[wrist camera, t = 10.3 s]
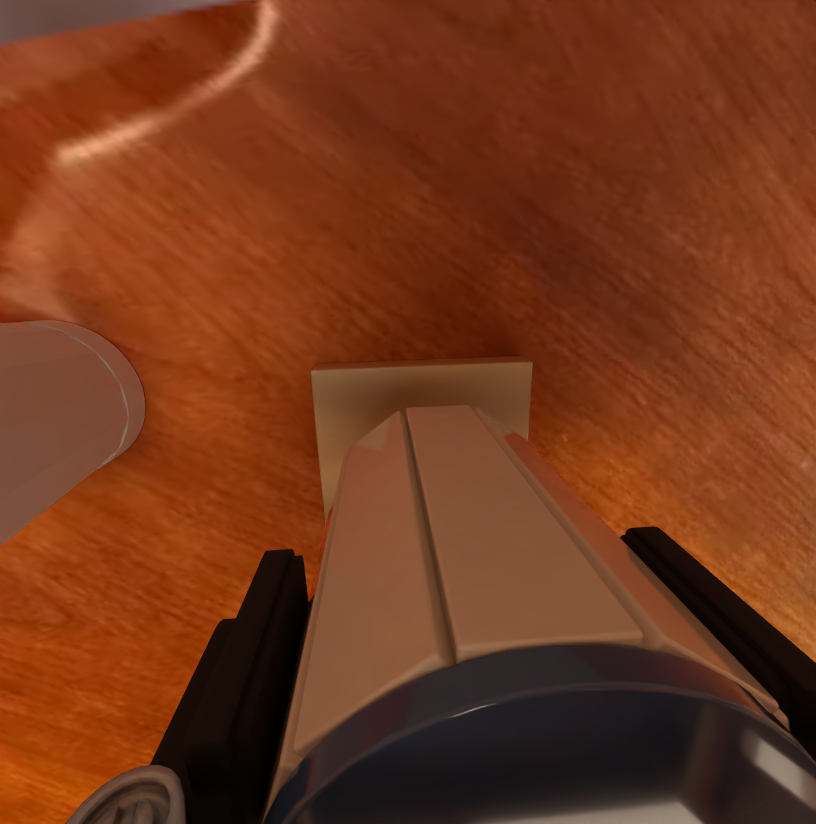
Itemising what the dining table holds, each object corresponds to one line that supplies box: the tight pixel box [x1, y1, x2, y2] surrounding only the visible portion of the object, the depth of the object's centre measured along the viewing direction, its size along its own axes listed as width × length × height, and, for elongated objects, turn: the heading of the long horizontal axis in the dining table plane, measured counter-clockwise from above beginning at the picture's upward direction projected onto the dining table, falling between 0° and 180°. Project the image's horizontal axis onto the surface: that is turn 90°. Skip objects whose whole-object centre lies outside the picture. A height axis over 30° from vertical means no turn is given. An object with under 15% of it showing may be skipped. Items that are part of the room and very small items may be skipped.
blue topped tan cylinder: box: [259, 405, 816, 824], centre depth 9 cm, size 7×7×9 cm
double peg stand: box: [310, 356, 533, 527], centre depth 15 cm, size 14×9×12 cm, turn 1°
